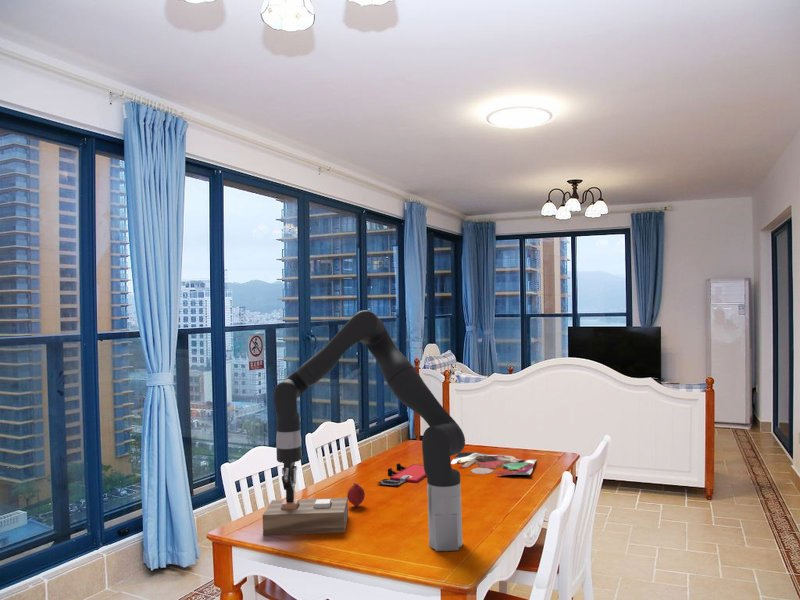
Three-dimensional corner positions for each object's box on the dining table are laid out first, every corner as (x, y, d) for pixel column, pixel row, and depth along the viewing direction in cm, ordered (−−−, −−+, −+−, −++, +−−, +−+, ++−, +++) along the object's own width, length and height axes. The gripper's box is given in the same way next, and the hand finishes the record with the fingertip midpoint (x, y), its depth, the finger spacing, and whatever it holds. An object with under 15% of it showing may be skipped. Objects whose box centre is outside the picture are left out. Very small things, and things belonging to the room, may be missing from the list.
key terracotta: (296, 516, 185) (296, 503, 185) (282, 517, 185) (281, 504, 185) (298, 512, 189) (298, 499, 189) (284, 512, 189) (284, 499, 189)
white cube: (329, 516, 185) (329, 503, 185) (315, 517, 185) (314, 503, 185) (331, 511, 189) (330, 498, 190) (316, 512, 189) (316, 499, 190)
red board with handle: (372, 485, 229) (409, 489, 223) (372, 477, 229) (409, 481, 223) (404, 466, 257) (437, 470, 250) (404, 460, 257) (437, 463, 251)
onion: (356, 502, 208) (355, 479, 208) (368, 505, 205) (368, 481, 205) (344, 507, 204) (343, 483, 204) (356, 510, 200) (356, 485, 200)
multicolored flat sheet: (538, 458, 264) (538, 453, 264) (529, 480, 231) (529, 475, 231) (459, 454, 275) (459, 450, 275) (440, 475, 241) (440, 470, 241)
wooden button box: (344, 532, 180) (343, 512, 180) (263, 535, 180) (262, 514, 180) (348, 516, 194) (347, 497, 194) (272, 519, 194) (272, 500, 194)
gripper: (297, 449, 181) (299, 508, 181) (304, 440, 194) (305, 494, 194) (272, 450, 181) (273, 509, 181) (280, 440, 194) (282, 495, 194)
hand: (290, 501), depth 187 cm, fingers closed
